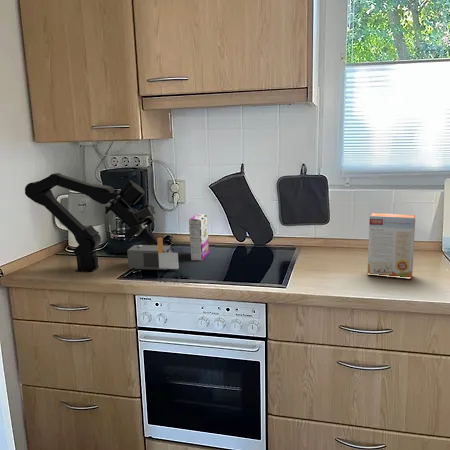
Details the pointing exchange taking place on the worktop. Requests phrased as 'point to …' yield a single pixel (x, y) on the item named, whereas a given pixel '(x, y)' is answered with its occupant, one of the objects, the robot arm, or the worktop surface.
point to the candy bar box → (199, 237)
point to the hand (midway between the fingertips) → (157, 244)
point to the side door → (166, 257)
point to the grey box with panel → (145, 256)
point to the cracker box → (391, 244)
